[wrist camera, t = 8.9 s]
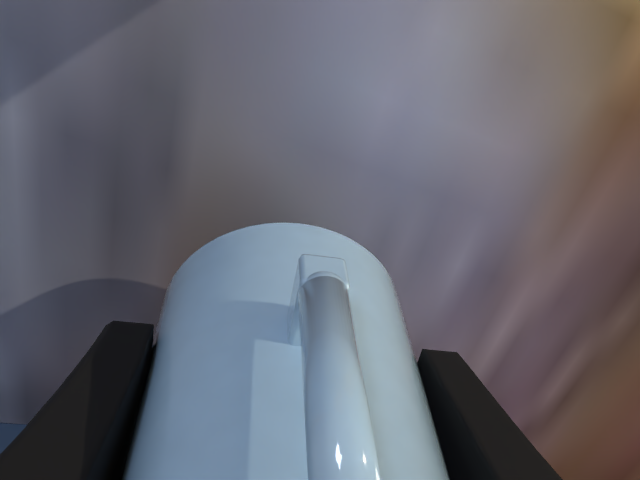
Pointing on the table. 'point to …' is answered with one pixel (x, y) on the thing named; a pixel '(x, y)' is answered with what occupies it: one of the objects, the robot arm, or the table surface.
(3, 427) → the drawer
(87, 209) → the table surface
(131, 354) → the robot arm
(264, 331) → the jug
